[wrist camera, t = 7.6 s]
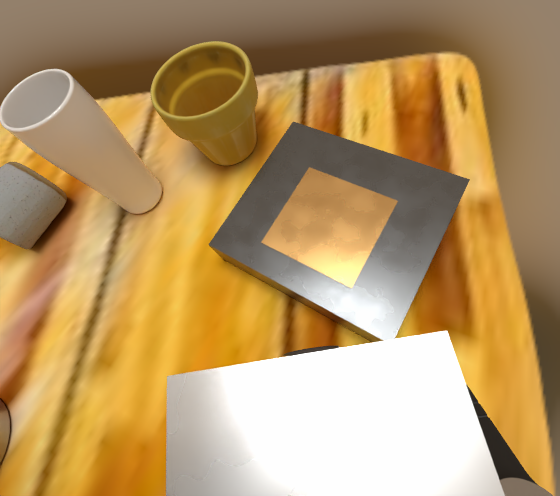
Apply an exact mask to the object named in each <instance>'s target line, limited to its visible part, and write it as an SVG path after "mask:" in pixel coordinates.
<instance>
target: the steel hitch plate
mask: <svg viewBox="0 0 560 496" xmlns="http://www.w3.org/2000/svg"><path fill="white" fill-rule="evenodd" d="M469 180H470V179H467V178H463V177H460V176H457V175H454V174H451V173H448V172H445V171H442V170H439V169H436V168H433V167H430V166H427V165H424V164H421V163H418V162H415V161H412V160H409V159H405V158H402V157H399V156H396V155H393V154H390V153H387V152H384V151H381V150H378V149H375V148H372V147H369V146H366V145H363V144H360V143H357V142H354V141H351V140H347V139H344V138H341V137H338V136H335V135H332V134H329V133H326V132H323V131H320V130H317V129H314V128H311V127H308V126H305V125H302V124H299V123H296V122H293V123H292V124H291V126H290V127H289V129H288V130H287V131H286V133H285V134H284V136H283V137H282V139H281V140H280V142H279V143H278V145H277V146H276V147H275V149H274V150H273V152H272V153H271V155H270V156H269V158H268V159H267V161H266V162H265V163H264V165H263V166H262V168H261V169H260V171H259V172H258V174H257V175H256V177H255V178H254V179H253V181H252V182H251V184H250V185H249V187H248V188H247V190H246V191H245V193H244V194H243V195H242V197H241V198H240V200H239V201H238V203H237V204H236V206H235V207H234V209H233V210H232V211H231V213H230V214H229V216H228V217H227V219H226V220H225V222H224V223H223V225H222V226H221V227H220V229H219V230H218V232H217V233H216V235H215V236H214V238H213V239H212V241H211V242H210V243H209V246H210V247H211V248H212V249H213V250H214V251H215V252H216V253H217V254H218V255H219V256H220V257H221V258H222V259H224V260H225V261H227V262H229V263H231V264H233V265H234V266H236V267H238V268H240V269H242V270H243V271H245V272H247V273H249V274H250V275H252V276H254V277H256V278H258V279H259V280H261V281H263V282H265V283H267V284H268V285H270V286H272V287H274V288H276V289H277V290H279V291H281V292H283V293H285V294H286V295H288V296H290V297H292V298H294V299H295V300H297V301H299V302H301V303H303V304H304V305H306V306H308V307H310V308H312V309H313V310H315V311H317V312H319V313H321V314H322V315H324V316H326V317H328V318H330V319H331V320H333V321H335V322H337V323H339V324H340V325H342V326H344V327H346V328H348V329H349V330H351V331H353V332H355V333H357V334H358V335H360V336H362V337H364V338H366V339H367V340H369V341H371V342H373V343H374V342H381V341H387V340H393V339H395V337H396V335H397V333H398V331H399V329H400V326H401V324H402V322H403V320H404V318H405V316H406V314H407V312H408V309H409V307H410V305H411V303H412V301H413V299H414V297H415V295H416V293H417V290H418V288H419V286H420V284H421V282H422V280H423V278H424V276H425V273H426V271H427V269H428V267H429V265H430V263H431V261H432V259H433V256H434V254H435V252H436V250H437V248H438V246H439V244H440V242H441V240H442V237H443V235H444V233H445V231H446V229H447V227H448V225H449V223H450V220H451V218H452V216H453V214H454V212H455V210H456V208H457V206H458V204H459V201H460V199H461V197H462V195H463V193H464V191H465V189H466V187H467V184H468V182H469Z"/></svg>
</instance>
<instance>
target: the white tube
mask: <svg viewBox="0 0 560 496" xmlns="http://www.w3.org/2000/svg"><path fill="white" fill-rule="evenodd" d="M0 122H1V124H2V126H3V127H4V128H5V129H7V130H8V131H9V132H10V133H12V134H13V135H14V136H15V137H17V138H18V139H19V140H20V141H22V142H23V143H24V144H25V145H27V146H28V147H29V148H31V149H32V150H33V151H35V152H36V153H37V154H39V155H40V156H42V157H43V158H45V159H46V160H48V161H49V162H51V163H52V164H54V165H55V166H57V167H58V168H60V169H61V170H63V171H65V172H66V173H68V174H70V175H71V176H73V177H74V178H76V179H78V180H79V181H81V182H83V183H84V184H86V185H87V186H89V187H91V188H92V189H94V190H96V191H97V192H99V193H100V194H102V195H104V196H105V197H107V198H108V199H110V200H112V201H113V202H115V203H116V204H118V205H119V206H120V207H122V208H123V209H124V210H126V211H127V212H129V213H133V214H141V213H145V212H147V211H149V210H151V209H152V208H153V207H154V206H155V205H156V204H157V203H158V202H159V200H160V198H161V194H162V187H161V184H160V182H159V180H158V179H157V178H156V177H155V176H154V175H153V174H152V173H151V172H150V170H149V169H148V168H147V166H146V165H145V164H144V163H143V161H142V160H141V159H140V157H139V156H138V155H137V153H136V152H135V151H134V149H133V148H132V147H131V146H130V144H129V143H128V142H127V140H126V139H125V138H124V136H123V135H122V134H121V132H120V131H119V130H118V128H117V127H116V126H115V124H114V123H113V122H112V120H111V119H110V118H109V117H108V115H107V114H106V113H105V112H104V110H103V109H102V108H101V107H100V106H99V105H98V103H97V102H96V101H95V100H94V99H93V98H92V97H91V96H90V95H89V94H88V92H87V91H86V90H85V89H84V88H83V87H82V86H81V85H80V84H79V83H78V82H77V81H76V80H75V79H74V78H73V77H72V76H71V75H70V74H69V73H67V72H66V71H63V70H60V69H49V70H44V71H40V72H38V73H35V74H33V75H31V76H29V77H27V78H26V79H24V80H23V81H21V82H20V83H19V84H18V85H16V86H15V87H14V88H13V89H12V90H11V91H10V93H9V94H8V95H7V96H6V98H5V99H4V101H3V103H2V105H1V108H0Z"/></svg>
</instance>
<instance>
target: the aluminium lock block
mask: <svg viewBox="0 0 560 496" xmlns="http://www.w3.org/2000/svg"><path fill="white" fill-rule="evenodd" d="M166 496H505V495H504V492H503V489H502V486H501V483H500V480H499V478H498V475H497V472H496V469H495V466H494V463H493V460H492V458H491V455H490V452H489V449H488V446H487V443H486V440H485V438H484V435H483V432H482V429H481V426H480V423H479V421H478V418H477V415H476V412H475V409H474V406H473V403H472V401H471V398H470V395H469V392H468V389H467V386H466V384H465V381H464V378H463V375H462V372H461V369H460V366H459V364H458V361H457V358H456V355H455V352H454V349H453V346H452V344H451V341H450V338H449V335H448V332H447V331H442V332H436V333H430V334H424V335H418V336H411V337H405V338H399V339H393V340H387V341H381V342H374V343H368V344H362V345H356V346H350V347H344V348H339V346H323V347H315V348H309V349H303V350H298V351H293V352H289V353H286V354H284V355H283V357H282V358H276V359H270V360H264V361H258V362H252V363H245V364H239V365H233V366H227V367H221V368H215V369H208V370H202V371H196V372H190V373H184V374H178V375H172V376H167V449H166Z"/></svg>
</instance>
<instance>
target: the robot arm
mask: <svg viewBox="0 0 560 496" xmlns="http://www.w3.org/2000/svg"><path fill="white" fill-rule="evenodd" d="M466 386H467V385H466ZM467 389H468V392H469V395H470V398H471V401H472V403H473V406H474V409H475V412H476V415H477V418H478V421H479V423H480V426H481V429H482V432H483V435H484V438H485V440H486V443H487V446H488V449H489V452H490V455H491V458H492V460H493V463H494V466H495V469H496V472H497V475H498V478H499V480H500V483H501V486H502V489H503V492H504V495H505V496H553V495H552V494H550V493H549V492H548V491H546V490H545V489H543V488H542V487H540V486H539V485H537V484H536V483H535V482H534V481H533V480H532V479H531V477H530V476H529V475H528V474H527V472H526V471H525V470H524V468H523V467H522V465H521V464H520V462H519V461H518V459H517V458H516V456H515V455H514V453H513V452H512V451H511V449H510V448H509V446H508V445H507V443H506V442H505V440H504V439H503V437H502V436H501V434H500V433H499V431H498V430H497V428H496V427H495V426H494V424H493V423H492V421H491V420H490V418H488V417H487V414H486V412H485V411H484V409H483V408H482V406H481V405H480V404H479V403H478V400H477V399H476V398H475V396H474V395H473V393H472V392H471V390H470V389H469V387H468V386H467ZM9 433H10V419H9V415H8V411H7V409H6V407H5V405H4V403H3V402H2V401H1V400H0V463H1V461H2V459H3V456H4V454H5V451H6V448H7V444H8V440H9Z"/></svg>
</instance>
